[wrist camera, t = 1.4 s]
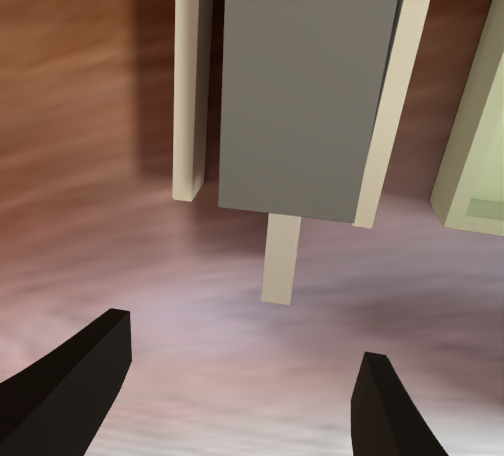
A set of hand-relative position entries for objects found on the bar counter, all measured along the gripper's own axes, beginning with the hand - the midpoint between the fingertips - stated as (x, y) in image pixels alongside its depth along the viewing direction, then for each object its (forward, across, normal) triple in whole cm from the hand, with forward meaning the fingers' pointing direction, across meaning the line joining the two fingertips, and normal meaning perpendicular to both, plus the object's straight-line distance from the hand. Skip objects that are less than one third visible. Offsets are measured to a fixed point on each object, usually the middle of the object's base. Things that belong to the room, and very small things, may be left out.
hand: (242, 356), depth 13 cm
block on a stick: (+8, -1, -5) cm, 10 cm away
